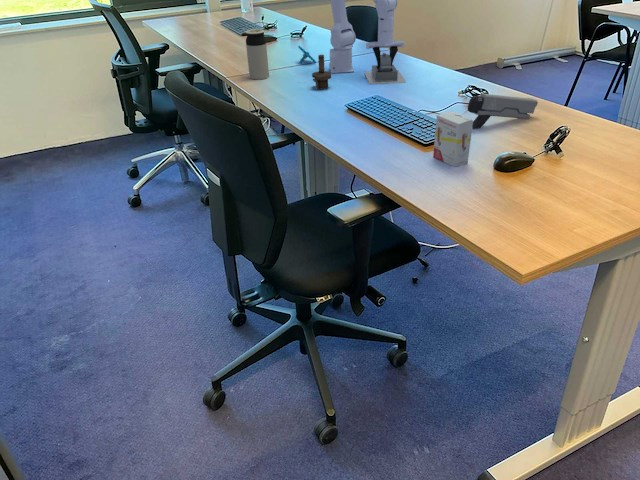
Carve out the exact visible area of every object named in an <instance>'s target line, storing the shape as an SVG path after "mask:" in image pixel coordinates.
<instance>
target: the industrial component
mask: <svg viewBox="0 0 640 480" xmlns="http://www.w3.org/2000/svg"><path fill="white" fill-rule="evenodd" d="M317 57H318V71H315V72H314V71H313V72H312V74H311V77H312V81H313V82H314V83H315V90H326V89H329V80H330V79H332V73H331V71H326V70H325V55H324V54H319V55H318V56H317Z"/></svg>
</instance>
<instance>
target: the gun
mask: <svg viewBox="0 0 640 480" xmlns="http://www.w3.org/2000/svg"><path fill="white" fill-rule="evenodd" d="M537 106H538V100H537V99H534V98H527V97H518V96H511V95H510V96H508V95H498V94H491V93H490V94H489V93H488V94H487V93H481V94H480V95H477V96H476V95H474V96H471V98H470V99H469V101H468V104H467V111H468V112H469V113H470V114H471V113H472V114H474V115H477V116H476V117H475V118H474V120H473V126H472V129H477V130H480V129H482V128H483V126H484V125H485V124H486V123H487V121H488V120H489V119H490V118H491V117H497V118H498V117H500V118H510V119H511V118H513V119H525V120H528V119H530V118H531V114H534V113H535V110H536V107H537Z"/></svg>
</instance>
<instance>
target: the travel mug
mask: <svg viewBox="0 0 640 480" xmlns="http://www.w3.org/2000/svg"><path fill="white" fill-rule="evenodd" d="M264 34H265V30H264V29H262V28H253V29H252V28H251V29H248V30H245V35H246V39H245V47H246V55H247V64H248V66H247V67H248V72H249V73H248V75H249V79H252V80H256V79H260V80H264V78H265V79H267V78H269V77H270V72H269V59H268V48H267V46H268V45H267V38H266V37H265V35H264Z"/></svg>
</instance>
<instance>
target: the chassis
mask: <svg viewBox="0 0 640 480" xmlns="http://www.w3.org/2000/svg"><path fill="white" fill-rule="evenodd" d="M363 74H364V76H365V79H366V80H367V83H368V84H369V85H377V84H378V85H379V84H380V85H381V84H383V85H384V84H398V83H401V84H402V83H403V84H404V83H406V79H405V78H404V76H403V75H402V73H401V72H400V70H399V69H397V68H396V67H395V65H394V64H392V68H391V71H378V67H377V65H376V64H375V65H371V71H364V72H363Z"/></svg>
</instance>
